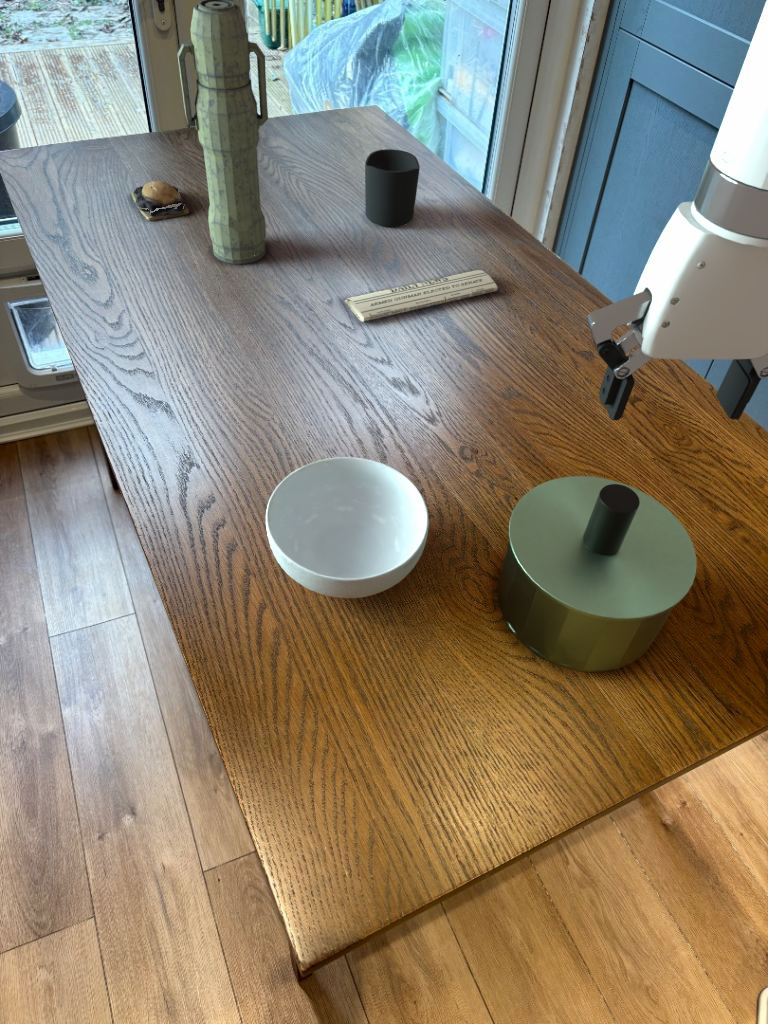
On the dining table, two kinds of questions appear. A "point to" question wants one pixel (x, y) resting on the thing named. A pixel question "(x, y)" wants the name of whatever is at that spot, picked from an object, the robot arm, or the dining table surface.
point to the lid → (602, 548)
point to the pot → (569, 627)
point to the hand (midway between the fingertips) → (668, 408)
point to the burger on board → (158, 200)
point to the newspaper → (420, 295)
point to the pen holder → (390, 187)
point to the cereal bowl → (347, 526)
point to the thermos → (227, 126)
